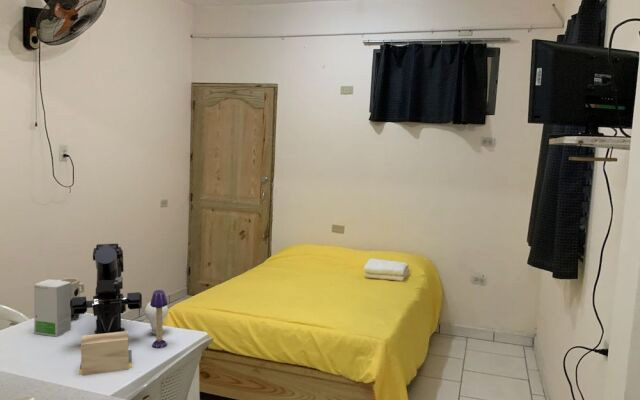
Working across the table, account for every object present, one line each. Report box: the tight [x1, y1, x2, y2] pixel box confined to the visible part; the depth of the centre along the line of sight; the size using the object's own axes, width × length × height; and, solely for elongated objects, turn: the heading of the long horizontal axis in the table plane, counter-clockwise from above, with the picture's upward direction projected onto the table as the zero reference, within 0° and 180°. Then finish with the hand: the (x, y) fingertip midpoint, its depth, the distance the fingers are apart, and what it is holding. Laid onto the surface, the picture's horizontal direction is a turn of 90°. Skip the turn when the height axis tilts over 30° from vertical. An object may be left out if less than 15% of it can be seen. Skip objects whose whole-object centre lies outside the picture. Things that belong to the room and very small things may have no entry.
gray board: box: [78, 349, 133, 375], centre depth 134 cm, size 12×13×1 cm
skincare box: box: [33, 278, 72, 338], centre depth 154 cm, size 8×7×16 cm
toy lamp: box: [150, 289, 168, 350], centre depth 144 cm, size 5×5×17 cm
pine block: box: [80, 330, 130, 376], centre depth 131 cm, size 6×11×8 cm, turn 111°
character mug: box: [58, 277, 85, 321], centre depth 164 cm, size 11×7×13 cm, turn 142°
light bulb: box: [144, 301, 169, 336], centre depth 153 cm, size 7×7×11 cm
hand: (106, 331), depth 140 cm, fingers closed
